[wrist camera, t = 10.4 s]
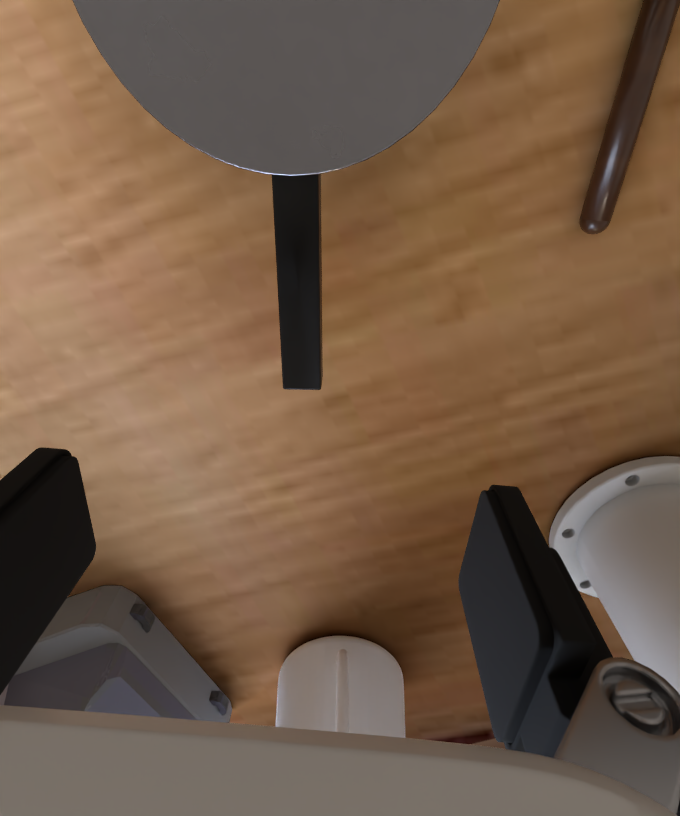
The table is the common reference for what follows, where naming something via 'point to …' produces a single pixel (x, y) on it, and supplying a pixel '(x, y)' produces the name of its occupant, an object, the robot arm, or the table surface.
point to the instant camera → (114, 664)
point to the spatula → (628, 111)
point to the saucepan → (290, 103)
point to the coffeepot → (342, 688)
